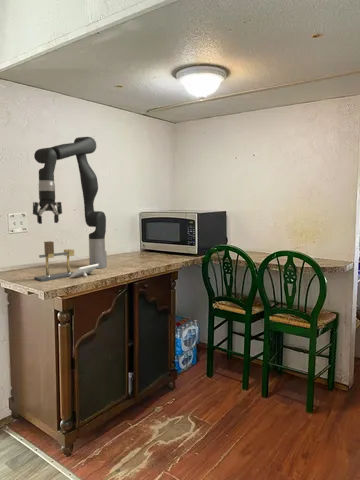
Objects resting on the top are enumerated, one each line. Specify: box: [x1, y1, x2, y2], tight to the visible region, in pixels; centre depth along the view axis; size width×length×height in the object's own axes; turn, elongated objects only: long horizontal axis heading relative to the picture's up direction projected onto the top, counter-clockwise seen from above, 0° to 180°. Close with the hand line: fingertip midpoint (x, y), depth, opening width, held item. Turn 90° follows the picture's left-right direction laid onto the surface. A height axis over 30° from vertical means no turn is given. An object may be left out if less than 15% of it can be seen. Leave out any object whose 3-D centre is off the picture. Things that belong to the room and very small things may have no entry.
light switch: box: [69, 264, 99, 278], centre depth 195 cm, size 8×5×14 cm
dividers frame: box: [38, 248, 75, 273], centre depth 189 cm, size 18×5×12 cm, turn 139°
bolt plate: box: [33, 271, 75, 282], centre depth 191 cm, size 20×8×2 cm, turn 139°
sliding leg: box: [43, 240, 55, 275], centre depth 185 cm, size 3×5×17 cm, turn 49°
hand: (48, 223), depth 184 cm, fingers open, 8 cm apart
